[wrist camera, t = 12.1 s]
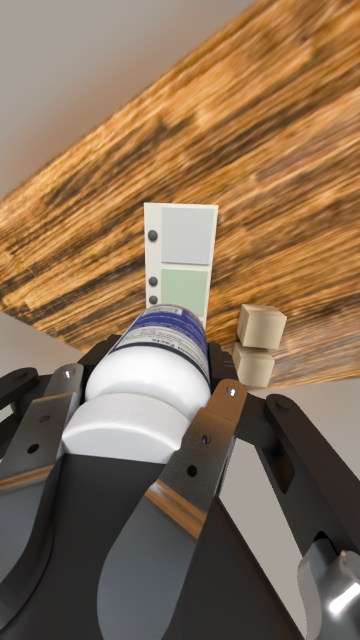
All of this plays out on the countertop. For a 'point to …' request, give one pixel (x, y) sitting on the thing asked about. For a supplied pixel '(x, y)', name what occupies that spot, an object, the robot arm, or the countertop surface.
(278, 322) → the maple block
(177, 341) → the pill bottle
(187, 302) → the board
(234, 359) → the maple block
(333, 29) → the countertop surface
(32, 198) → the countertop surface
